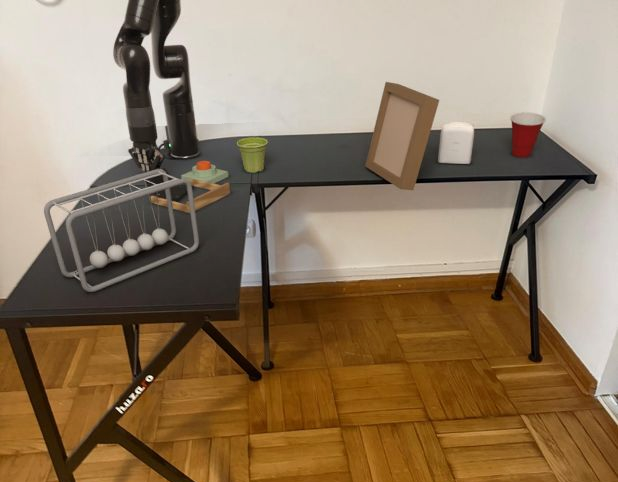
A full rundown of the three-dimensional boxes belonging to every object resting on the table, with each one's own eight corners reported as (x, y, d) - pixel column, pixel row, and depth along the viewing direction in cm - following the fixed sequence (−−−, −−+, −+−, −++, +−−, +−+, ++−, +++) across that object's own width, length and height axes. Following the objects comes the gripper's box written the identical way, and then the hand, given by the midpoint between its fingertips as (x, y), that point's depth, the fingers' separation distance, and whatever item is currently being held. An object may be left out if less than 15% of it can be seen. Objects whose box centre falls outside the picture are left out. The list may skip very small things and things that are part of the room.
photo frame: (400, 192, 170) (407, 100, 156) (365, 169, 187) (368, 83, 172) (444, 184, 175) (455, 94, 160) (406, 162, 191) (412, 78, 177)
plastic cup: (501, 158, 193) (508, 119, 186) (506, 148, 201) (512, 111, 194) (536, 161, 190) (544, 122, 183) (539, 151, 198) (547, 114, 191)
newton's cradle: (86, 296, 126) (64, 216, 115) (62, 279, 132) (40, 202, 121) (201, 249, 143) (191, 176, 132) (175, 236, 149) (164, 166, 138)
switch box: (181, 180, 181) (180, 169, 179) (203, 171, 188) (202, 160, 186) (207, 187, 177) (205, 175, 175) (228, 176, 183) (227, 165, 181)
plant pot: (264, 175, 184) (263, 147, 178) (235, 174, 185) (232, 145, 180) (272, 165, 191) (270, 138, 186) (244, 164, 193) (241, 136, 188)
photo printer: (437, 163, 190) (441, 123, 183) (437, 159, 193) (442, 119, 186) (470, 165, 188) (476, 125, 181) (470, 161, 192) (476, 121, 184)
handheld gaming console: (184, 196, 166) (160, 166, 163) (166, 211, 169) (142, 182, 166) (196, 187, 176) (173, 158, 173) (179, 201, 179) (156, 173, 176)
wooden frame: (151, 203, 167) (149, 192, 165) (192, 184, 179) (191, 174, 177) (190, 213, 161) (188, 202, 159) (230, 193, 172) (229, 183, 170)
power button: (194, 169, 180) (193, 163, 179) (203, 165, 183) (202, 160, 182) (204, 171, 178) (204, 166, 177) (213, 167, 181) (212, 162, 180)
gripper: (168, 122, 164) (176, 184, 175) (134, 115, 170) (144, 175, 181) (148, 129, 159) (158, 192, 169) (114, 121, 165) (125, 183, 175)
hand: (151, 183), depth 175 cm, fingers closed
